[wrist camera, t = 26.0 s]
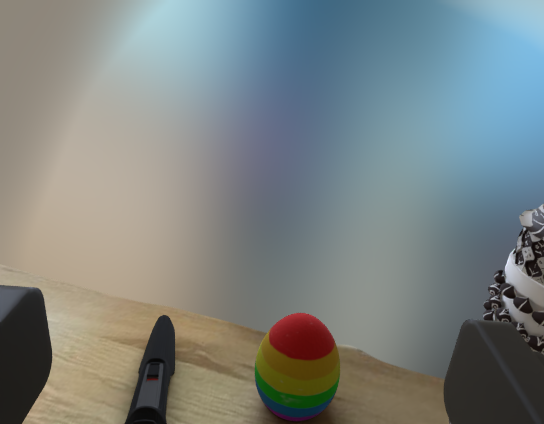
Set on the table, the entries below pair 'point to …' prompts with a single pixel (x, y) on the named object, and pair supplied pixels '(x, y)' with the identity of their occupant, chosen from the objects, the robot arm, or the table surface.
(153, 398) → the electric trimmer
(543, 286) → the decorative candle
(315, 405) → the decorative egg
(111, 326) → the table surface
